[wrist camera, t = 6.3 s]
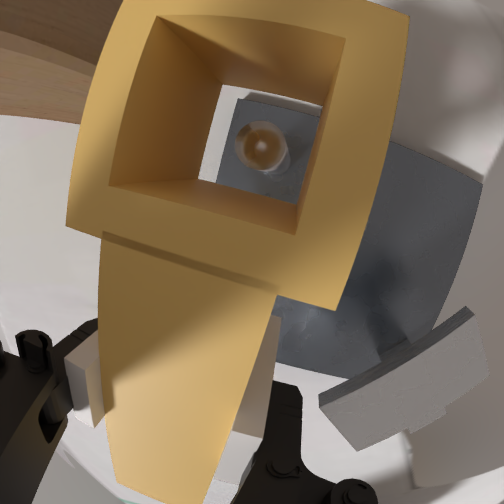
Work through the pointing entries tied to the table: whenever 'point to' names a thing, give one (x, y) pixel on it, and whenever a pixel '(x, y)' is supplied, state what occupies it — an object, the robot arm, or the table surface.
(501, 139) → the table surface
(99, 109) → the link
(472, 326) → the block
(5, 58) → the wooden block
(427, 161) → the base
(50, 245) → the table surface
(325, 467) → the table surface
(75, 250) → the table surface
